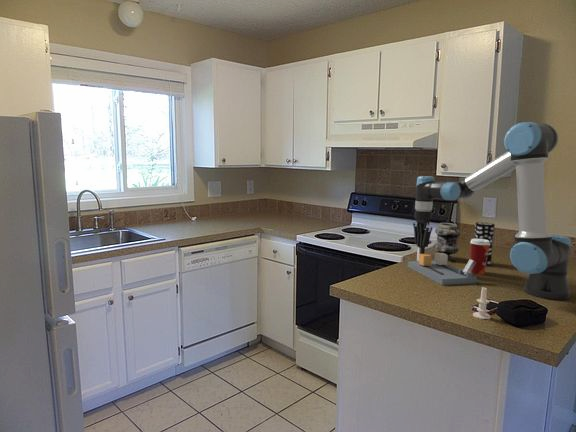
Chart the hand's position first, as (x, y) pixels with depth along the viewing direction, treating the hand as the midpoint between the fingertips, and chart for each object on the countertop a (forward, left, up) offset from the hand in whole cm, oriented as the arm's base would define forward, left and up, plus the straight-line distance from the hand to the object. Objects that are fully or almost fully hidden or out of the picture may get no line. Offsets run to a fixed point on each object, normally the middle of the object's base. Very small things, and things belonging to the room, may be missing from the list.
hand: (420, 260), depth 192 cm
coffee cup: (-10, -23, -4) cm, 25 cm away
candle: (-56, +10, -4) cm, 57 cm away
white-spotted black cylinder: (+3, -35, -4) cm, 35 cm away
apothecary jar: (+15, -23, -4) cm, 28 cm away
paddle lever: (-21, -8, -1) cm, 23 cm away
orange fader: (-4, 0, -1) cm, 4 cm away
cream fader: (-4, -8, -1) cm, 9 cm away
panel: (-10, -4, -4) cm, 12 cm away
